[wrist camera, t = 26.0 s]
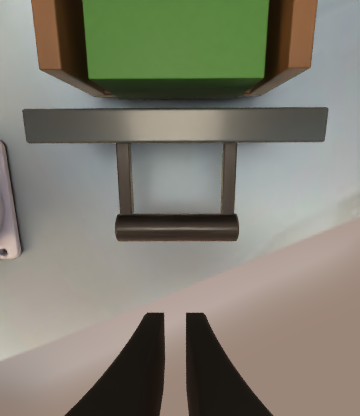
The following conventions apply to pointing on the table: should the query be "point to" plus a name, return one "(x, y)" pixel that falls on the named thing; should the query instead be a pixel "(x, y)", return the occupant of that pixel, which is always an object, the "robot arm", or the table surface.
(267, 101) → the table surface
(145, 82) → the green rectangular box
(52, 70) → the drawer
